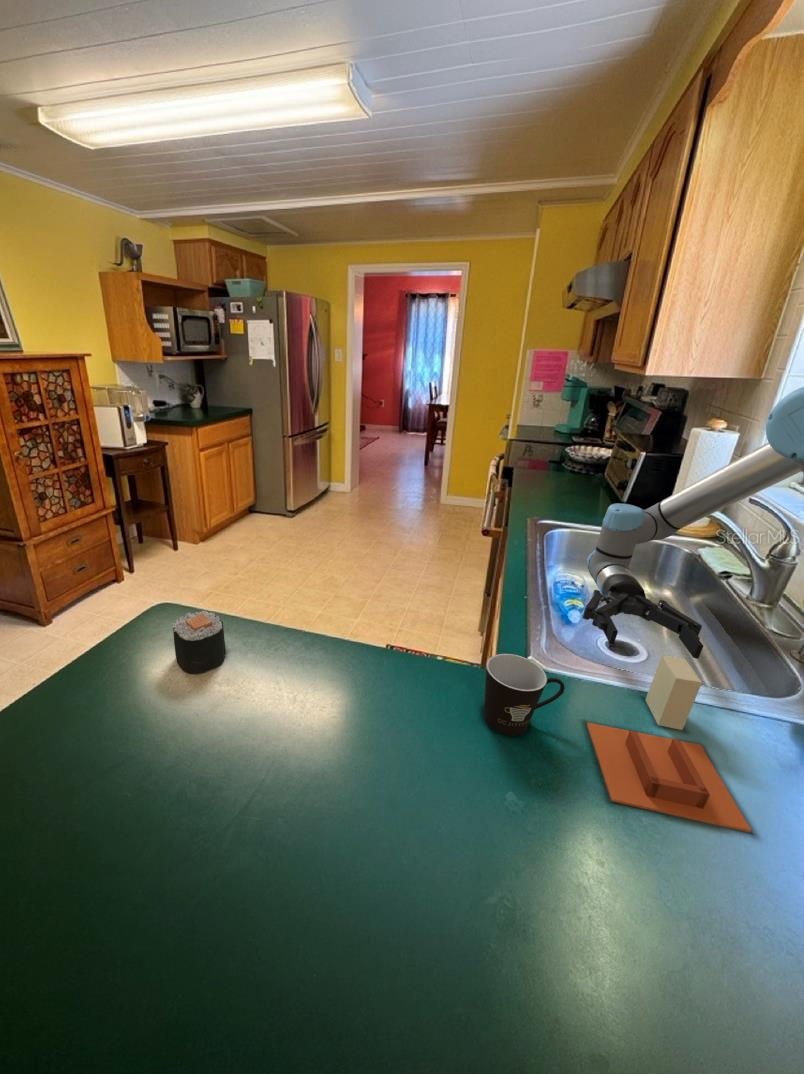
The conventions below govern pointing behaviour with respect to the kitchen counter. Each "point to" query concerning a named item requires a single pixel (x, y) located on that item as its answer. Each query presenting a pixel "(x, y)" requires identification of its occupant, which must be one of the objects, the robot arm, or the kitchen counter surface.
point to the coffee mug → (514, 692)
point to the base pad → (663, 776)
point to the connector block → (673, 692)
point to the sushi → (199, 642)
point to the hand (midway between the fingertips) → (655, 644)
